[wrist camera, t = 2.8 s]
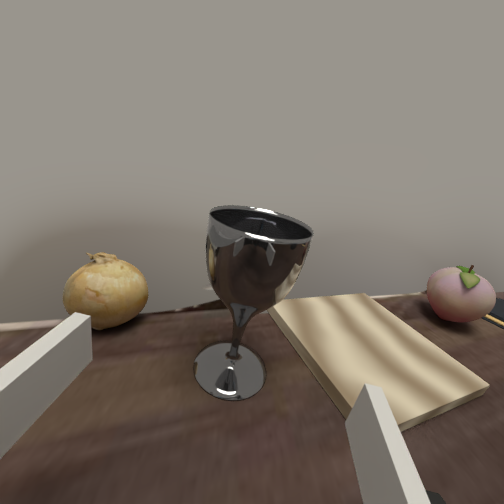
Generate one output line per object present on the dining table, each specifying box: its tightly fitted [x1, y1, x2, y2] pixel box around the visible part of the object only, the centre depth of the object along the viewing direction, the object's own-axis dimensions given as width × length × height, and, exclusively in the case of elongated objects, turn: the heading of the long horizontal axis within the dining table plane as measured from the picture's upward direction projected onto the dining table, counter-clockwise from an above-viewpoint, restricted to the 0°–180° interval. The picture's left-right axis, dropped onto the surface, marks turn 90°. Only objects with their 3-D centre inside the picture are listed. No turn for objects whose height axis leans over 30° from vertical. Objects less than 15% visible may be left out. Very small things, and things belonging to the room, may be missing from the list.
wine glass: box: [193, 205, 313, 401], centre depth 22 cm, size 8×8×15 cm
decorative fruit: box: [427, 265, 496, 322], centre depth 40 cm, size 9×8×10 cm
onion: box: [63, 252, 148, 330], centre depth 27 cm, size 8×8×7 cm
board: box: [267, 293, 490, 432], centre depth 31 cm, size 18×18×2 cm
